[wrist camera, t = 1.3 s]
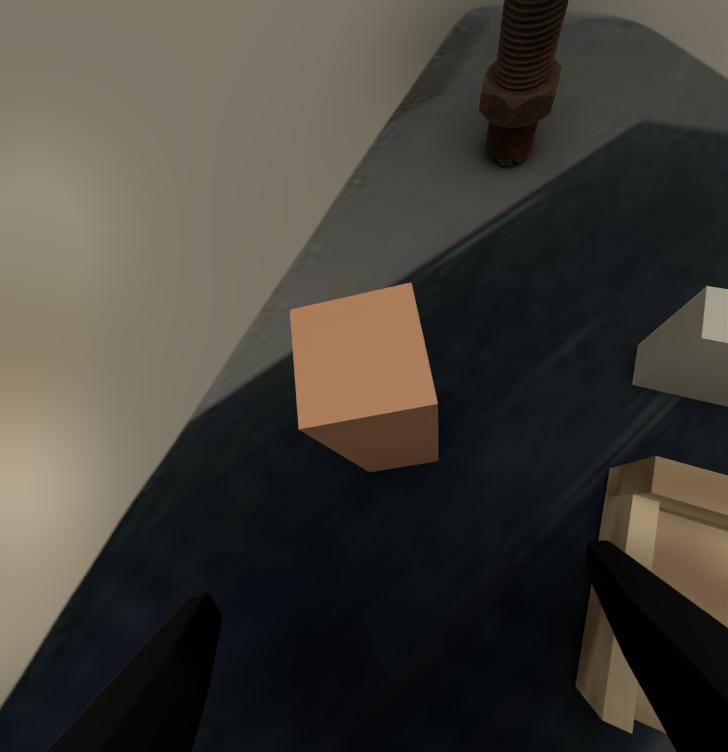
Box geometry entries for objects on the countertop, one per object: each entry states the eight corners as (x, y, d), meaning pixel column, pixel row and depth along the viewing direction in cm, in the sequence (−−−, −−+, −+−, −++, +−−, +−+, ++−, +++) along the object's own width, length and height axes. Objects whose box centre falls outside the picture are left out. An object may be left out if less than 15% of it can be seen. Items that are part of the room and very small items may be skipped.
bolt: (533, 117, 29) (622, -254, 15) (560, 164, 27) (690, -212, 13) (458, 142, 29) (475, -194, 15) (479, 189, 27) (520, -145, 13)
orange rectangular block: (438, 460, 21) (437, 403, 10) (369, 472, 22) (298, 429, 11) (424, 394, 23) (411, 282, 12) (360, 406, 23) (289, 309, 12)
